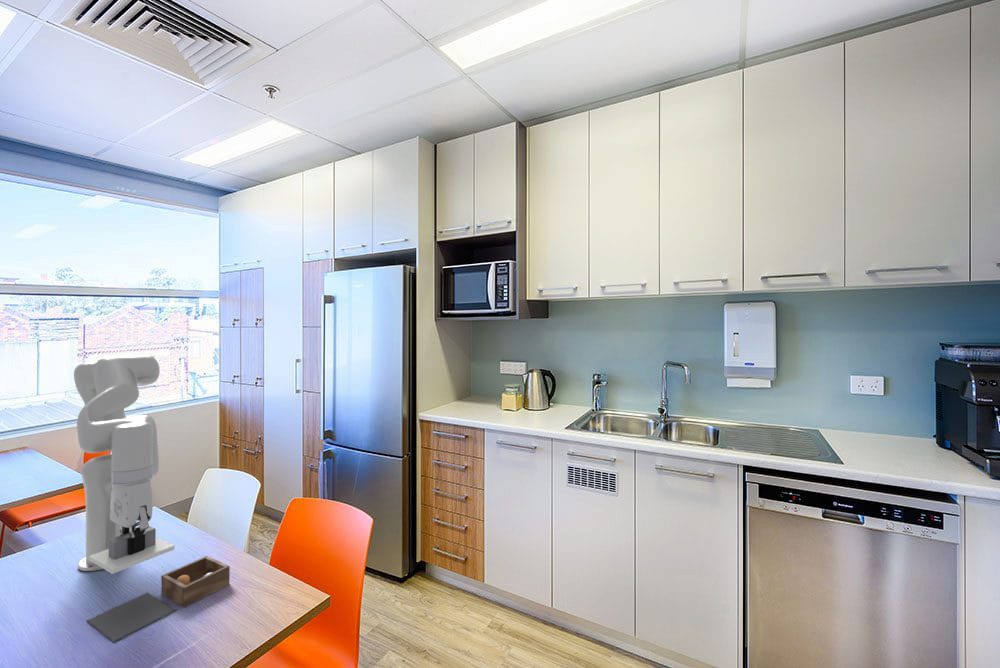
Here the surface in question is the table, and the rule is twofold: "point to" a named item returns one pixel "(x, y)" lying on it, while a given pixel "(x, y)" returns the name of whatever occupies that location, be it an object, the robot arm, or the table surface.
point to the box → (195, 581)
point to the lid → (118, 552)
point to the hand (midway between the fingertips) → (132, 549)
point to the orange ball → (184, 579)
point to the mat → (130, 616)
